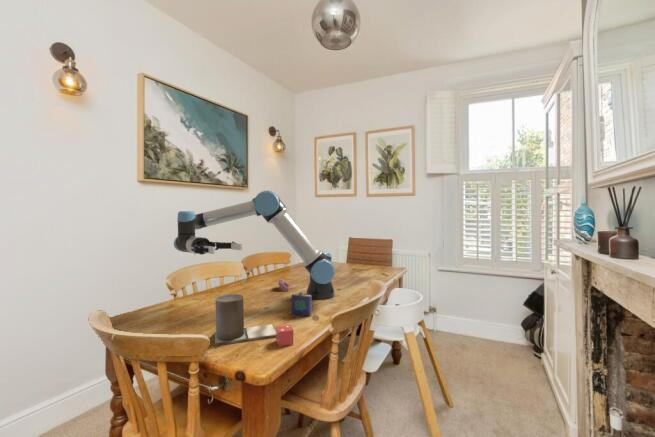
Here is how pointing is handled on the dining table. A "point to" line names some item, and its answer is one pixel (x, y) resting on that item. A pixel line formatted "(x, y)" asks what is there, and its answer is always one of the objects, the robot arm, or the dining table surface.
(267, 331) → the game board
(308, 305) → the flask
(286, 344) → the red die
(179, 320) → the dining table surface
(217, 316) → the pillar candle
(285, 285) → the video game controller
